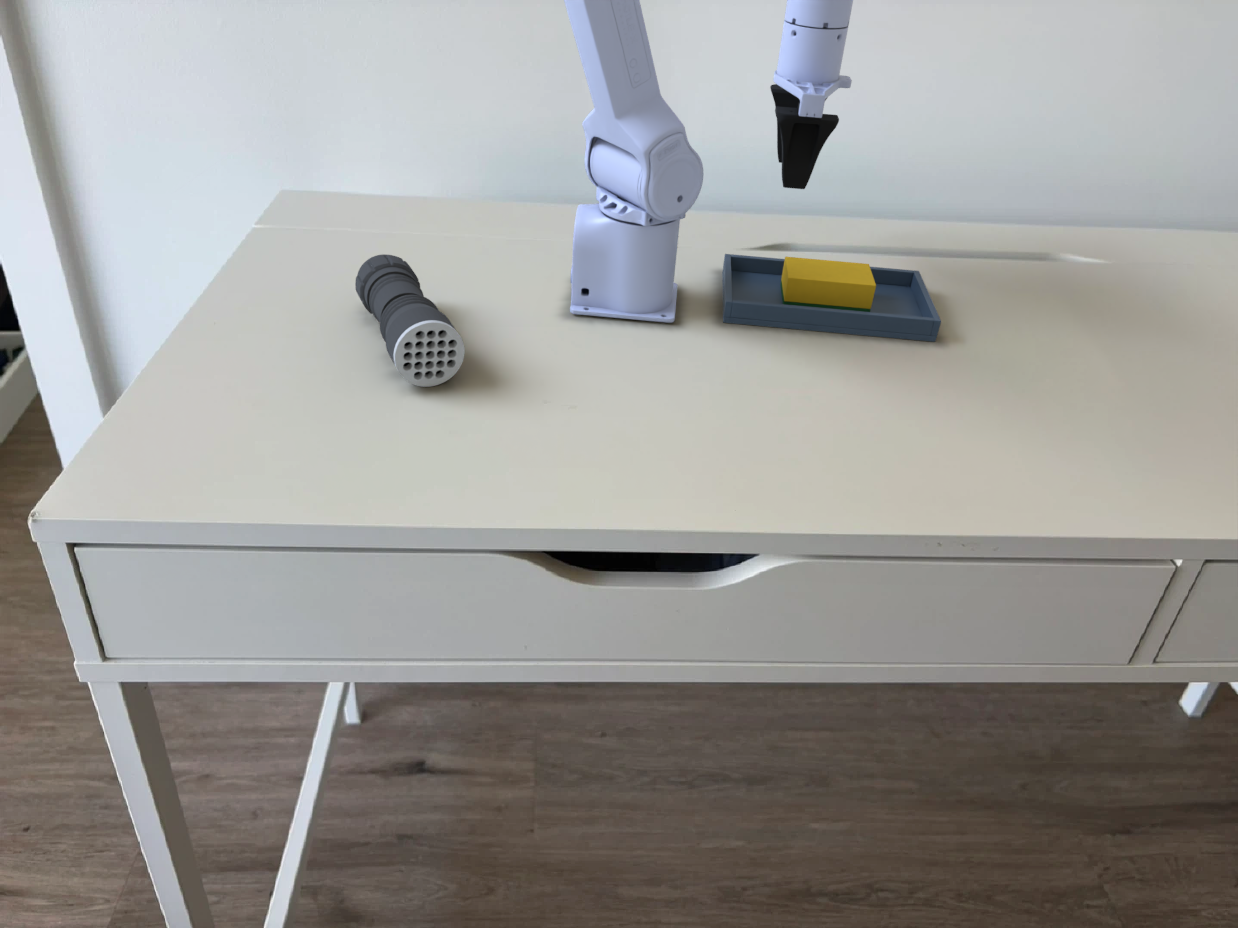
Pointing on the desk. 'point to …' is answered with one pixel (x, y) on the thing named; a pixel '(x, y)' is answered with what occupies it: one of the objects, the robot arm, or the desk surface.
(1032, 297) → the desk surface
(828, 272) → the sponge
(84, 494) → the desk surface
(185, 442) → the desk surface
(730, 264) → the tray
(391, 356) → the flashlight
